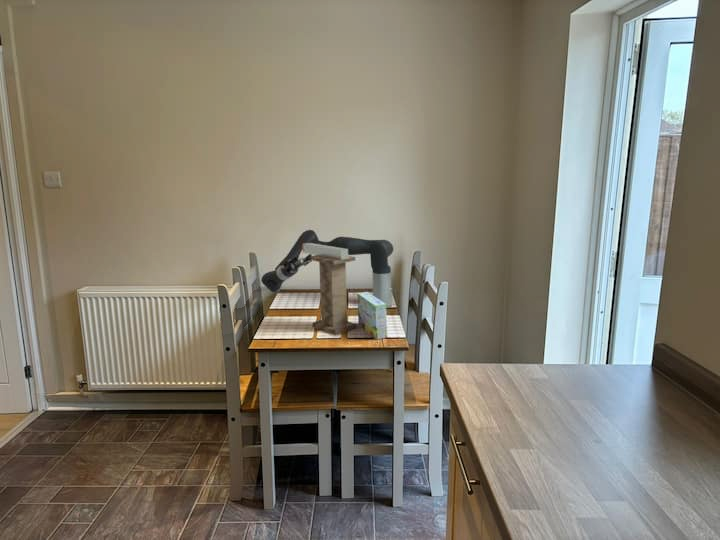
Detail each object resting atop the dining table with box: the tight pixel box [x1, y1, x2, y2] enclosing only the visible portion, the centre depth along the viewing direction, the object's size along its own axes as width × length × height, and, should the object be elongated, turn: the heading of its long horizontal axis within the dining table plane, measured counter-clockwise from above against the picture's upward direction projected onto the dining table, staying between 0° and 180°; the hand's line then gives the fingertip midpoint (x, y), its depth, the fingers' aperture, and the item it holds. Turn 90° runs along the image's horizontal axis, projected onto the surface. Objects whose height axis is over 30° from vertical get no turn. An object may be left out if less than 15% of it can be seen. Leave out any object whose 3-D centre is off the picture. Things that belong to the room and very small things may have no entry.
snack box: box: [356, 291, 388, 341], centre depth 206 cm, size 21×6×15 cm, turn 21°
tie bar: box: [302, 243, 349, 260], centre depth 210 cm, size 26×4×4 cm, turn 44°
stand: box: [310, 255, 358, 336], centre depth 210 cm, size 16×12×32 cm
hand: (304, 257), depth 221 cm, fingers open, 8 cm apart
